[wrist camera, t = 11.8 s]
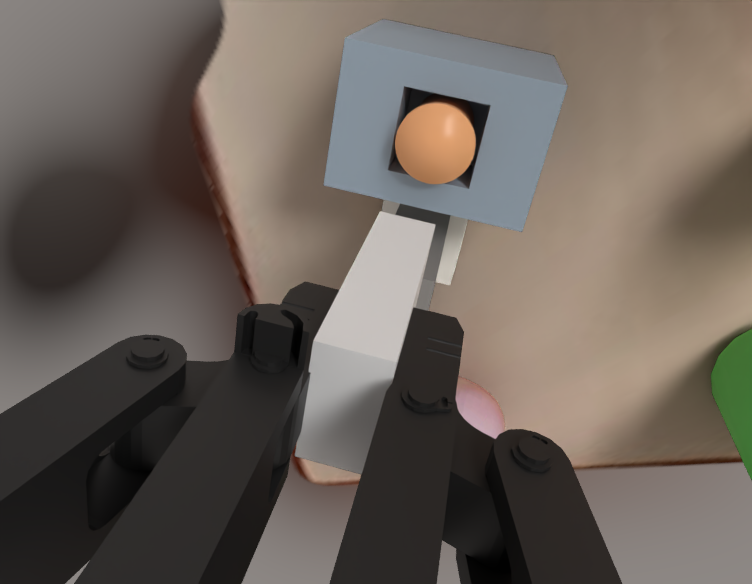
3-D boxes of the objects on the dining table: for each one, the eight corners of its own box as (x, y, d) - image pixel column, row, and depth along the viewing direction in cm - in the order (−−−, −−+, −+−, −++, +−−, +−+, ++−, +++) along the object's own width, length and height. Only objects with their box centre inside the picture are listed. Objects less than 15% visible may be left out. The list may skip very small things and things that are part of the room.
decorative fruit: (383, 430, 51) (357, 527, 43) (380, 341, 48) (350, 428, 39) (504, 441, 50) (503, 544, 41) (510, 350, 46) (510, 442, 37)
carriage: (397, 155, 41) (354, 231, 29) (478, 174, 40) (466, 258, 29) (379, 242, 44) (334, 341, 32) (456, 260, 43) (437, 367, 32)
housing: (383, 19, 38) (345, 37, 29) (554, 55, 37) (567, 85, 28) (363, 136, 41) (323, 185, 32) (519, 172, 40) (522, 232, 32)
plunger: (417, 77, 33) (403, 96, 29) (487, 93, 33) (484, 114, 28) (403, 147, 35) (388, 174, 30) (470, 162, 34) (464, 192, 30)
